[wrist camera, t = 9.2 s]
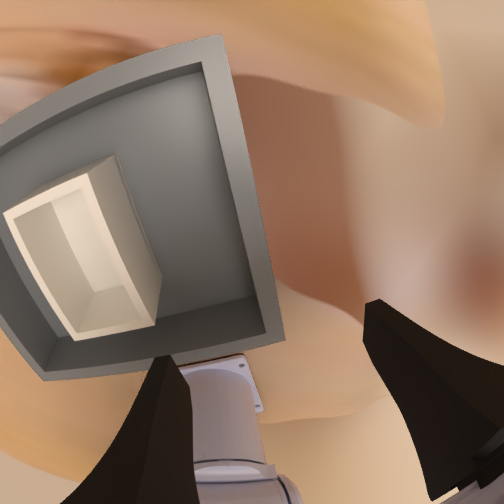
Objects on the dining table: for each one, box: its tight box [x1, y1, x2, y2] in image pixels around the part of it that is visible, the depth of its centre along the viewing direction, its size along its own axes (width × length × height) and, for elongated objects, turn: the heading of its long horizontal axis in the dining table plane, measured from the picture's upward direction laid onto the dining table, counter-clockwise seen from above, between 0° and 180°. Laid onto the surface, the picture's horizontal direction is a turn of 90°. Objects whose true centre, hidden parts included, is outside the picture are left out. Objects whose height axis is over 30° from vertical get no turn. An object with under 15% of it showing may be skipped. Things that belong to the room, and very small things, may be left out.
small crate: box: [3, 153, 163, 341], centre depth 14 cm, size 8×5×4 cm, turn 12°
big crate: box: [0, 34, 286, 381], centre depth 15 cm, size 16×18×4 cm
